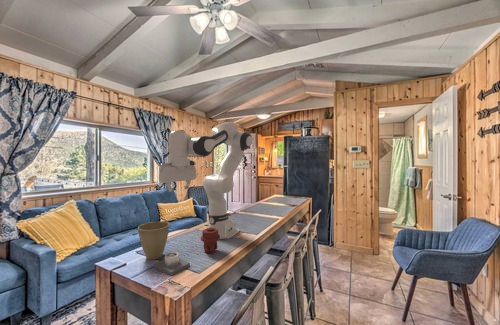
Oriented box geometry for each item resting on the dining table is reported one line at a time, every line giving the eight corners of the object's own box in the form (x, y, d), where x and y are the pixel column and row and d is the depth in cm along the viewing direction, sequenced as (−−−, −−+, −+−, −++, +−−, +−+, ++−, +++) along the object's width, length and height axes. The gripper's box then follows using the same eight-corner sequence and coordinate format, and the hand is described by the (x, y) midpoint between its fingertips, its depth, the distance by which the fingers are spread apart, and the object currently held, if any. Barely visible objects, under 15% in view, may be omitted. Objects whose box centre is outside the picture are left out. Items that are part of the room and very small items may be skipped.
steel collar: (181, 262, 103) (181, 253, 103) (170, 267, 98) (170, 259, 98) (173, 259, 107) (173, 250, 107) (162, 264, 102) (161, 255, 102)
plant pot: (150, 265, 103) (149, 232, 103) (132, 258, 112) (131, 227, 111) (176, 254, 116) (175, 223, 116) (158, 248, 124) (158, 219, 124)
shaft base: (172, 259, 110) (172, 248, 110) (189, 265, 103) (189, 254, 103) (153, 267, 102) (153, 255, 102) (171, 275, 95) (170, 262, 94)
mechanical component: (199, 255, 114) (203, 247, 124) (218, 255, 114) (221, 247, 124) (198, 231, 114) (203, 225, 124) (217, 231, 113) (221, 225, 123)
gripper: (163, 163, 100) (164, 193, 100) (198, 162, 117) (198, 188, 117) (155, 163, 104) (156, 192, 104) (190, 162, 120) (190, 187, 121)
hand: (179, 190), depth 111 cm, fingers open, 8 cm apart
